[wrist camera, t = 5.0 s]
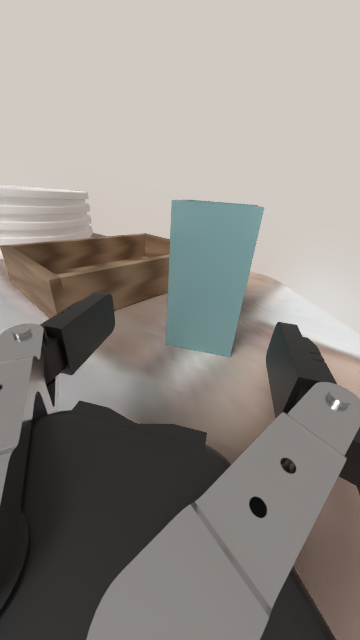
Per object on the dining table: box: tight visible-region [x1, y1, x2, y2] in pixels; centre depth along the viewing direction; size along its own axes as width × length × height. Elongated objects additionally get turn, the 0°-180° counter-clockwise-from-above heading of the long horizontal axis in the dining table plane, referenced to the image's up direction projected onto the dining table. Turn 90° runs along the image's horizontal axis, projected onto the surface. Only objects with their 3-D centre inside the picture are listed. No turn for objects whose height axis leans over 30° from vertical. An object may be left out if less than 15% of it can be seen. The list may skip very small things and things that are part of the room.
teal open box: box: [166, 200, 264, 357], centre depth 20 cm, size 6×6×12 cm
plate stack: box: [0, 185, 93, 259], centre depth 49 cm, size 28×28×12 cm
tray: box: [0, 234, 170, 318], centre depth 33 cm, size 24×16×5 cm, turn 137°
